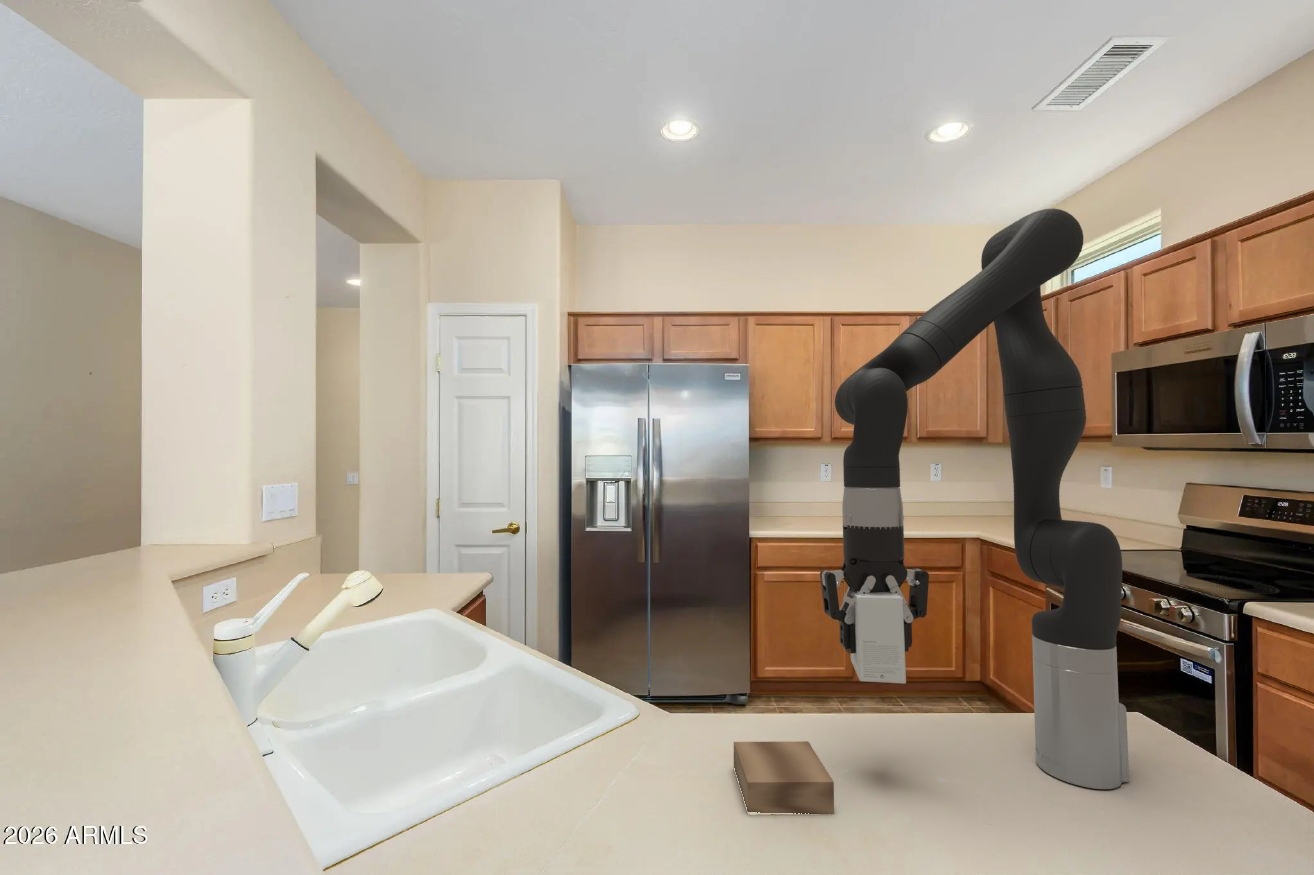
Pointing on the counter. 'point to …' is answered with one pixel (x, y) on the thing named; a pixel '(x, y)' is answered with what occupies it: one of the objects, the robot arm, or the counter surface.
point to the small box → (879, 638)
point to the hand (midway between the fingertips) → (875, 650)
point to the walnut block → (783, 778)
